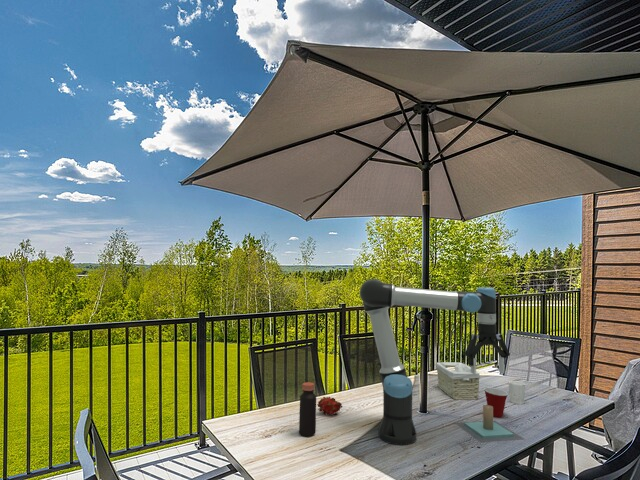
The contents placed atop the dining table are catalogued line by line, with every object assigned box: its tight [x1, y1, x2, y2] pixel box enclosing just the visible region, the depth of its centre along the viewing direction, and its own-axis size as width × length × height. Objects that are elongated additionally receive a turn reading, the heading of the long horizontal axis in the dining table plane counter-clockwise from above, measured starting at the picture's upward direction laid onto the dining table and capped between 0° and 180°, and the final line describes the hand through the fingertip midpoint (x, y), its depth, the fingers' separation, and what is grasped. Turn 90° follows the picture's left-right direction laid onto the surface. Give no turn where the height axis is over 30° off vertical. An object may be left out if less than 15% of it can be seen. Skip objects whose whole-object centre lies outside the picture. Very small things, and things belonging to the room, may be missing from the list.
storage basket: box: [435, 361, 481, 400], centre depth 221 cm, size 24×16×15 cm
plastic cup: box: [483, 387, 509, 419], centre depth 186 cm, size 11×11×12 cm
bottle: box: [298, 381, 317, 438], centre depth 162 cm, size 7×7×20 cm
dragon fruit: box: [316, 396, 343, 416], centre depth 184 cm, size 8×8×12 cm
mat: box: [454, 420, 525, 443], centre depth 168 cm, size 20×20×1 cm
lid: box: [464, 404, 514, 438], centre depth 168 cm, size 14×14×10 cm
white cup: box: [508, 380, 526, 405], centre depth 207 cm, size 8×8×10 cm
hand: (487, 373), depth 170 cm, fingers open, 13 cm apart
